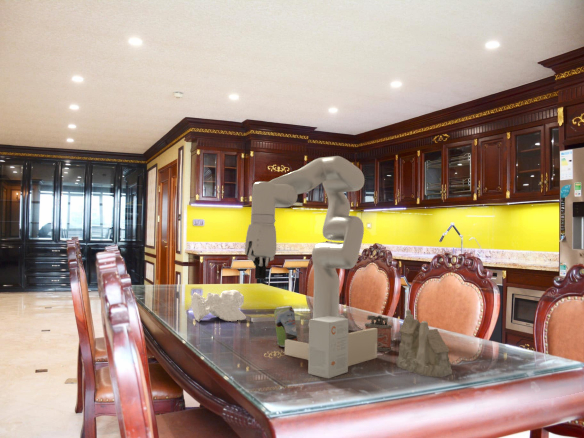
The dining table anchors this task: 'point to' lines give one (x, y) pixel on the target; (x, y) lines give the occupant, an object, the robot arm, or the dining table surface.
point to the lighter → (381, 331)
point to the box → (359, 347)
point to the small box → (328, 346)
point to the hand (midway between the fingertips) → (260, 278)
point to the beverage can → (285, 324)
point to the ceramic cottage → (422, 349)
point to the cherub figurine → (218, 305)
